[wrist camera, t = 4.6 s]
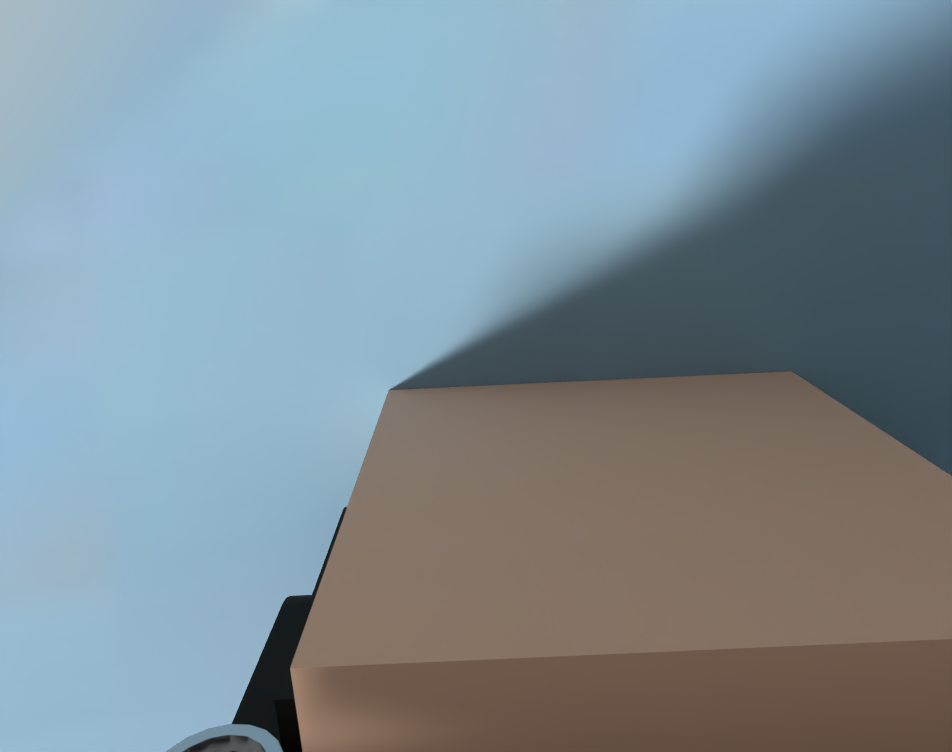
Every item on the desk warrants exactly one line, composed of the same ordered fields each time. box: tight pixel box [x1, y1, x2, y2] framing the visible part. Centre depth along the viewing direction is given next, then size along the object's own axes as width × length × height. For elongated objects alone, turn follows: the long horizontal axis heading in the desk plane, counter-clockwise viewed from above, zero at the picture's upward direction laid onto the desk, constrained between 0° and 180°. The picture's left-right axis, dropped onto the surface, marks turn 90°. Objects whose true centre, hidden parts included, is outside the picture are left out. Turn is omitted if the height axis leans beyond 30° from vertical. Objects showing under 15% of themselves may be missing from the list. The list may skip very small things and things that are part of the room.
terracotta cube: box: [290, 371, 952, 752], centre depth 8 cm, size 6×6×6 cm
